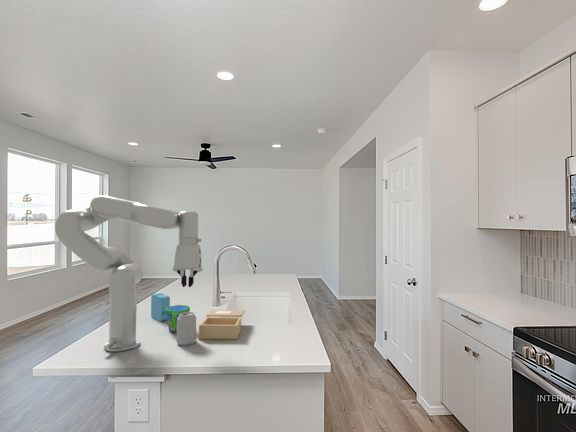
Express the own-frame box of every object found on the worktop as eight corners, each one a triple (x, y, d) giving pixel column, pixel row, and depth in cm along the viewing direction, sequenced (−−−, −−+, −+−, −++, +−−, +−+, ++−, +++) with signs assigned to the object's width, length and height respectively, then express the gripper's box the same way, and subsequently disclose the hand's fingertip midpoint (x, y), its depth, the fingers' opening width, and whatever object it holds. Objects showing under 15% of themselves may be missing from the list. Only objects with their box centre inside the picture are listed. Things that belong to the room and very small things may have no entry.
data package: (169, 320, 164) (170, 296, 165) (160, 322, 161) (161, 297, 162) (159, 315, 173) (159, 292, 173) (150, 317, 170) (151, 293, 170)
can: (188, 338, 138) (189, 310, 139) (199, 342, 134) (200, 313, 134) (172, 343, 133) (173, 313, 133) (183, 347, 128) (184, 317, 128)
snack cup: (183, 336, 141) (184, 312, 142) (159, 335, 141) (159, 312, 142) (193, 325, 157) (194, 303, 157) (172, 324, 157) (172, 303, 157)
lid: (244, 310, 162) (244, 311, 162) (212, 309, 162) (212, 311, 162) (241, 315, 150) (241, 316, 150) (206, 314, 150) (206, 316, 150)
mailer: (236, 340, 137) (237, 325, 137) (198, 339, 137) (199, 325, 137) (241, 330, 149) (241, 317, 149) (206, 330, 149) (206, 317, 149)
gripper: (209, 241, 138) (208, 285, 138) (172, 240, 138) (171, 284, 138) (205, 242, 131) (204, 288, 130) (165, 241, 131) (164, 287, 130)
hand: (187, 286), depth 134 cm, fingers closed
